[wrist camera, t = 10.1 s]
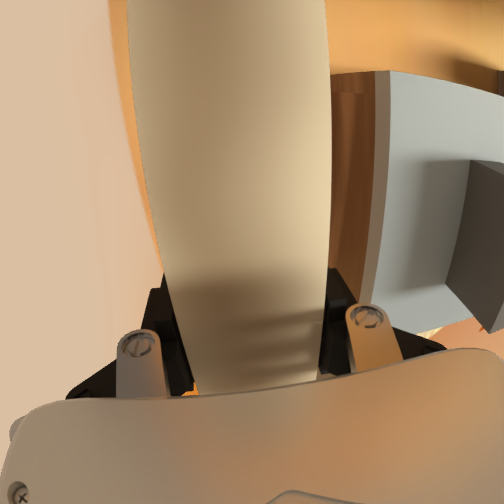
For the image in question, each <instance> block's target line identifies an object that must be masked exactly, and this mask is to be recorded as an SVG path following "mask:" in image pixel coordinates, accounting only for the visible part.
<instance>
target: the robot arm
mask: <svg viewBox="0 0 504 504" xmlns="http://www.w3.org/2000/svg"><path fill="white" fill-rule="evenodd" d="M318 368H319V371H320V373H321V375H323V374H328V373H330V374H333V375H335V376H334V377H329V378H324V379H319V380H313V381H308V382H302V383H296V384H290V385H283V386H277V387H270V388H262V389H254V390H246V391H237V392H227V393H217V394H205V395H190V396H181V395H183V394H184V393H185V392H186V391H193V390H194V388H193V387H194V382H195V380H194V377H193V374H192V371H191V368H190V365H189V361H188V358H187V355H186V351H185V348H184V345H183V341H182V338H181V334H180V331H179V327H178V324H177V320H176V316H175V313H174V309H173V305H172V301H171V298H170V294H169V290H168V286H167V282H166V278H165V274H163V278H162V283H161V287H160V288H152V289H151V291H150V294H149V298H148V302H147V306H146V309H145V314H144V318H143V322H142V326H141V329H139V330H135V331H131V332H130V333H128V334H126V335H125V336H124V337H123V338H121V340H120V341H119V343H118V346H117V359H116V360H114V361H113V362H111V363H110V364H108V365H107V366H105V367H104V368H102V369H101V370H100V371H98V372H97V373H95V374H94V375H92V376H91V377H89V378H88V379H86V380H85V381H83V382H82V383H81V384H79V385H77V386H76V387H74V388H73V389H72V390H71V391H70V392H69V393H68V395H67V396H66V399H65V400H61V401H56V402H52V403H49V404H45V405H42V406H40V407H38V408H36V409H34V410H32V411H30V413H28V414H27V415H25V416H23V417H21V418H19V419H18V420H16V421H15V422H14V423H13V424H12V426H11V429H10V441H11V444H10V446H9V449H8V452H7V455H6V459H5V462H4V465H3V469H2V472H1V476H0V504H504V361H503V360H502V359H501V358H500V357H499V356H498V355H496V354H494V353H493V352H491V351H488V350H484V349H478V348H456V349H448V350H447V348H445V347H444V346H443V345H442V344H439V343H437V342H435V341H432V340H429V339H426V338H423V337H420V336H417V335H415V334H412V333H409V332H406V331H403V330H400V329H398V328H395V327H392V326H391V323H390V320H389V318H388V315H387V314H386V312H385V311H384V310H383V309H382V308H381V307H379V306H377V305H374V304H370V303H359V304H358V302H357V301H356V299H355V297H354V296H353V294H352V292H351V291H350V289H349V288H348V286H347V284H346V283H345V281H344V279H343V278H342V276H341V275H340V273H339V271H338V270H337V269H336V268H329V266H328V267H327V281H326V293H325V305H324V315H323V325H322V335H321V344H320V352H319V361H318Z"/></svg>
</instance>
